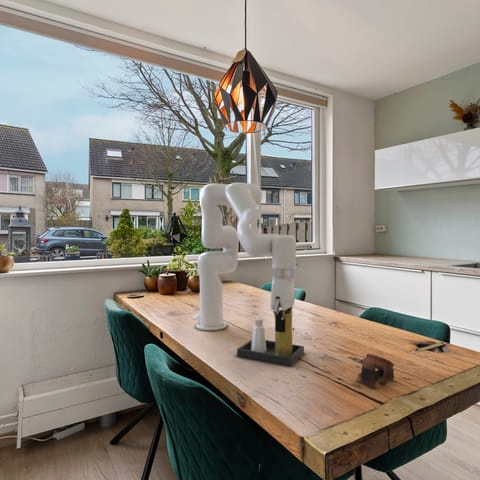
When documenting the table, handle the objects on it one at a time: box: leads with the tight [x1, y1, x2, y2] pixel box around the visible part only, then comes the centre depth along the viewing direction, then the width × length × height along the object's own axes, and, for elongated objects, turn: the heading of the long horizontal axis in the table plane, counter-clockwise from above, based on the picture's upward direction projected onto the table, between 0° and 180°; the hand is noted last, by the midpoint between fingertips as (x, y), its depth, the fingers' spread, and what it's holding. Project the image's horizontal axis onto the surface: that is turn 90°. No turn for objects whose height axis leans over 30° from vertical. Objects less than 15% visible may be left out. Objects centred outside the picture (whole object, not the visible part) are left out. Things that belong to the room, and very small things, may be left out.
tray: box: [236, 339, 305, 367], centre depth 119 cm, size 19×13×2 cm
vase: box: [274, 310, 293, 357], centre depth 116 cm, size 6×6×14 cm
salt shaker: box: [251, 317, 266, 353], centre depth 121 cm, size 5×5×11 cm
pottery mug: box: [357, 353, 395, 389], centre depth 98 cm, size 12×10×8 cm
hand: (283, 328), depth 116 cm, fingers closed on vase, 5 cm apart
